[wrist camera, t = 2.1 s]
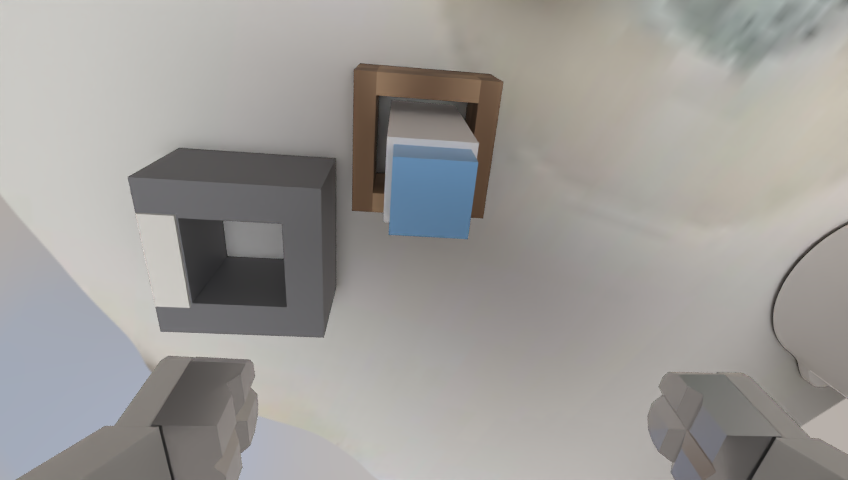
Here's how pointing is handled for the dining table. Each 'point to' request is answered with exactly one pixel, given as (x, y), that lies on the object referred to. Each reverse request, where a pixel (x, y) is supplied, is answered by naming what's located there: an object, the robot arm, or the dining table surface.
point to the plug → (429, 171)
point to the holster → (422, 85)
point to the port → (206, 250)
